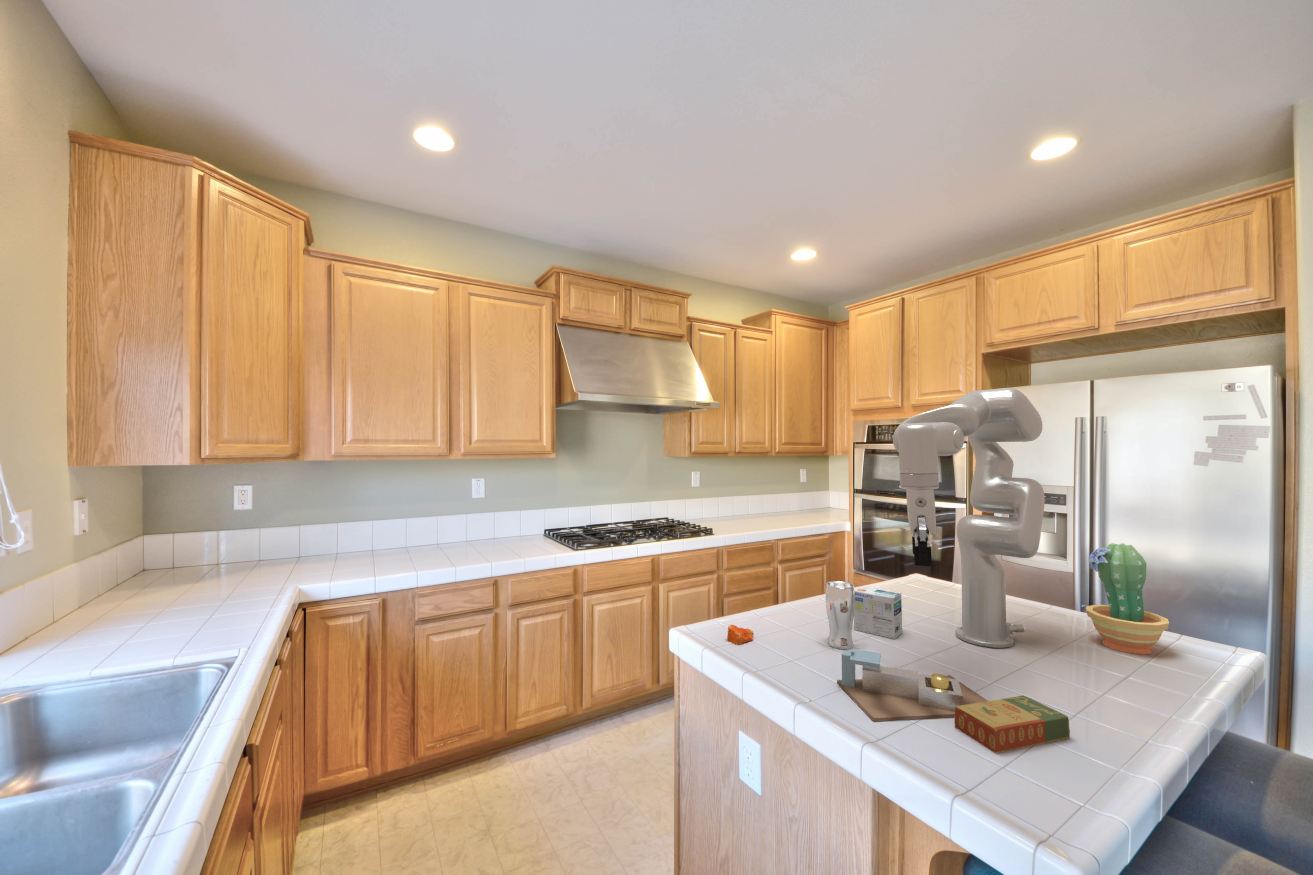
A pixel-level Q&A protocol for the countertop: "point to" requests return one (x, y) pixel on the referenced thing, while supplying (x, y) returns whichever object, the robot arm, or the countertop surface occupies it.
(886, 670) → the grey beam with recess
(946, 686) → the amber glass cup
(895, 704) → the board
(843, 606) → the beer glass
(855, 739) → the countertop surface
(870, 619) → the light bulb box
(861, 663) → the bracket
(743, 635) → the rock
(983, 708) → the carton
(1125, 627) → the potted cactus
